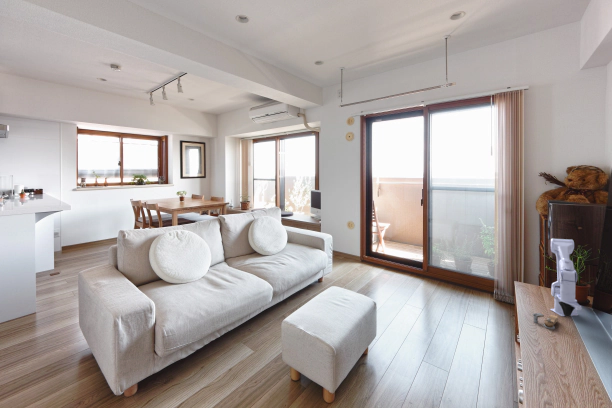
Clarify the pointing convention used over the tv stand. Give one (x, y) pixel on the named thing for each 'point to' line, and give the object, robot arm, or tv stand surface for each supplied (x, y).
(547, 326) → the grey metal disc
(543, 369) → the tv stand surface
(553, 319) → the link
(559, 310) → the robot arm
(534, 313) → the block
